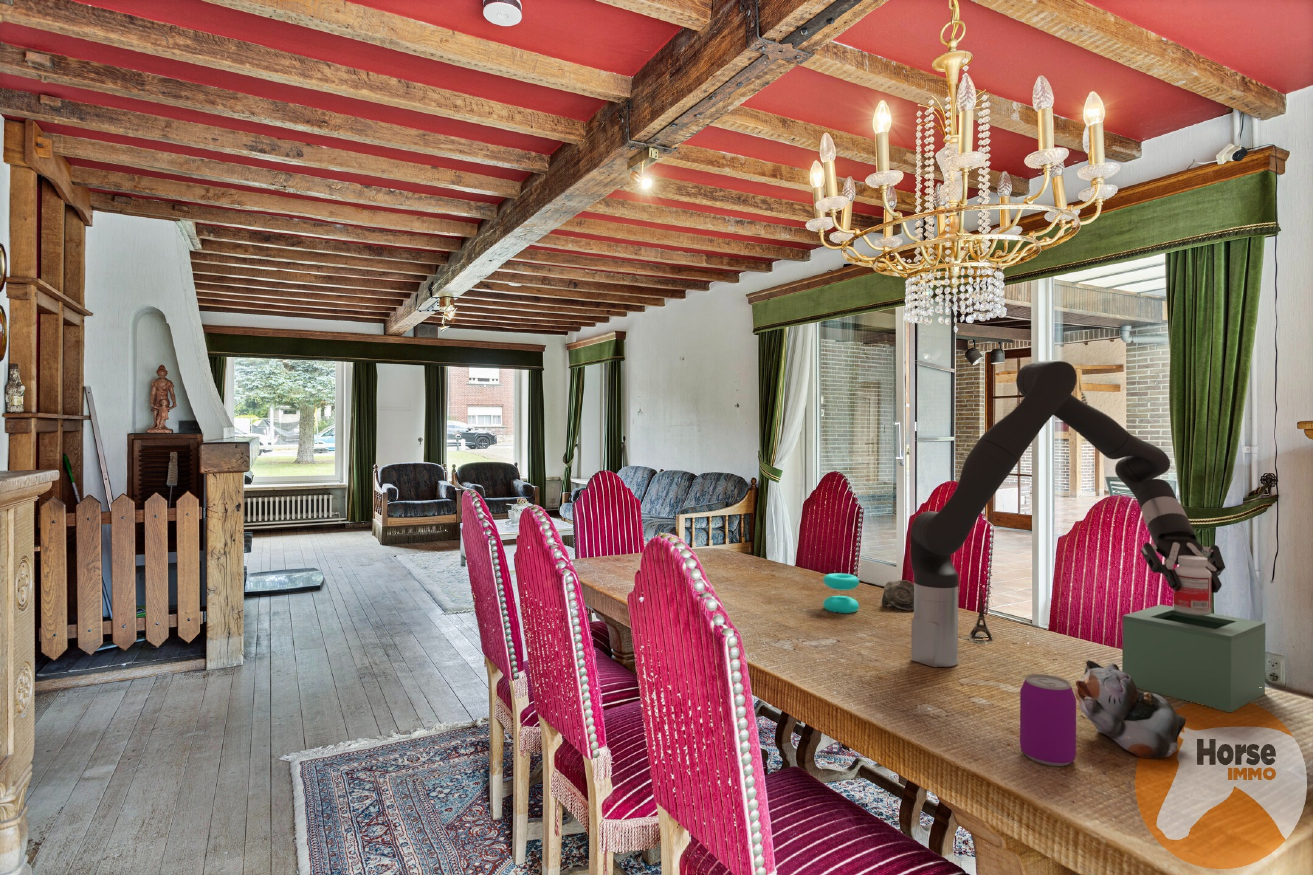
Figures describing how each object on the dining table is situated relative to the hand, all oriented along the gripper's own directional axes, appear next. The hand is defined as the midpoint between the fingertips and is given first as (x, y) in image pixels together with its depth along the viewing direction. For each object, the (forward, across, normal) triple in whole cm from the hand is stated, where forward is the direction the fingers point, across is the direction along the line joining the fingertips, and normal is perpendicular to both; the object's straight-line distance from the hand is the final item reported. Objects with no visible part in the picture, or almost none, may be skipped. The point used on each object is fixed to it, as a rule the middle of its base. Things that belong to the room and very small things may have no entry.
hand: (1197, 589), depth 141 cm
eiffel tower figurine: (-8, -33, +38) cm, 51 cm away
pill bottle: (+2, 0, +5) cm, 5 cm away
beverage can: (+41, -40, -13) cm, 59 cm away
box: (+13, 0, +15) cm, 20 cm away
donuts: (-23, -65, +53) cm, 87 cm away
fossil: (-27, -48, +57) cm, 79 cm away
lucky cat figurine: (+35, -24, -6) cm, 43 cm away
